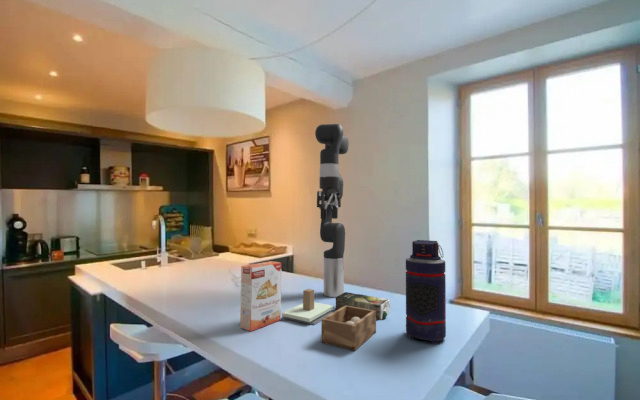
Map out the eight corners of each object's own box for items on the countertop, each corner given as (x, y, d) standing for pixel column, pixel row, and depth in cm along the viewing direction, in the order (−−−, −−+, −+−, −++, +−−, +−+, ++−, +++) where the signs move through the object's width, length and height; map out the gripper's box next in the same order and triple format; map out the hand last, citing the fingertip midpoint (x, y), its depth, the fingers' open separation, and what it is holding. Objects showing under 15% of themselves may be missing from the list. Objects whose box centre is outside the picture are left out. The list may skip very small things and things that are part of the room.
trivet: (303, 307, 130) (303, 306, 130) (334, 313, 123) (334, 312, 123) (282, 317, 118) (282, 316, 118) (314, 325, 111) (314, 323, 111)
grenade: (442, 347, 93) (442, 243, 94) (401, 339, 99) (401, 241, 100) (449, 331, 105) (448, 239, 106) (412, 325, 111) (412, 238, 112)
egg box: (345, 325, 110) (345, 305, 110) (375, 332, 105) (375, 310, 105) (321, 342, 97) (321, 319, 97) (354, 351, 91) (354, 326, 91)
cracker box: (251, 332, 104) (251, 267, 105) (239, 328, 108) (240, 265, 108) (282, 320, 115) (282, 261, 116) (270, 317, 119) (270, 260, 119)
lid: (307, 305, 131) (307, 283, 131) (333, 310, 125) (333, 287, 125) (281, 317, 117) (282, 293, 117) (309, 323, 110) (309, 298, 111)
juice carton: (392, 313, 124) (392, 297, 124) (384, 321, 116) (384, 304, 116) (345, 305, 134) (345, 290, 134) (334, 312, 126) (334, 296, 126)
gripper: (330, 178, 131) (329, 218, 130) (310, 175, 119) (310, 219, 118) (346, 177, 127) (346, 218, 127) (328, 174, 115) (328, 219, 114)
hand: (329, 219), depth 122 cm, fingers open, 8 cm apart
